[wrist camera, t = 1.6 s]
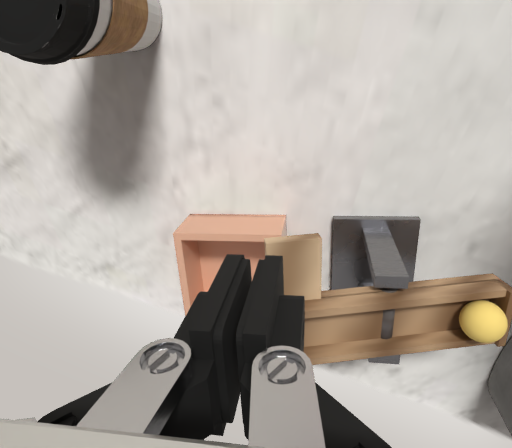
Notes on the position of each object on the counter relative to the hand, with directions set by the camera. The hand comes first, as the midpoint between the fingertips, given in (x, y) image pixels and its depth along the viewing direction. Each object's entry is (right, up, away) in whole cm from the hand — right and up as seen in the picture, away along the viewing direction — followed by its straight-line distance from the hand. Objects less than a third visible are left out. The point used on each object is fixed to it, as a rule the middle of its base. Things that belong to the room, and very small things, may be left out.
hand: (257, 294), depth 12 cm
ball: (+17, -5, +16) cm, 25 cm away
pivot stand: (+12, -2, +26) cm, 29 cm away
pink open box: (-2, -1, +28) cm, 29 cm away
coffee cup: (-11, +21, +21) cm, 32 cm away
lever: (+10, -2, +18) cm, 20 cm away
